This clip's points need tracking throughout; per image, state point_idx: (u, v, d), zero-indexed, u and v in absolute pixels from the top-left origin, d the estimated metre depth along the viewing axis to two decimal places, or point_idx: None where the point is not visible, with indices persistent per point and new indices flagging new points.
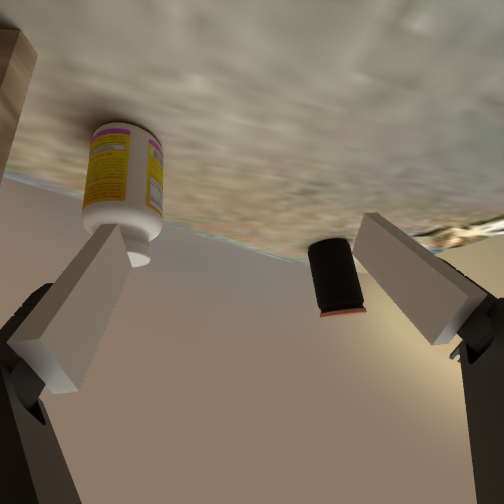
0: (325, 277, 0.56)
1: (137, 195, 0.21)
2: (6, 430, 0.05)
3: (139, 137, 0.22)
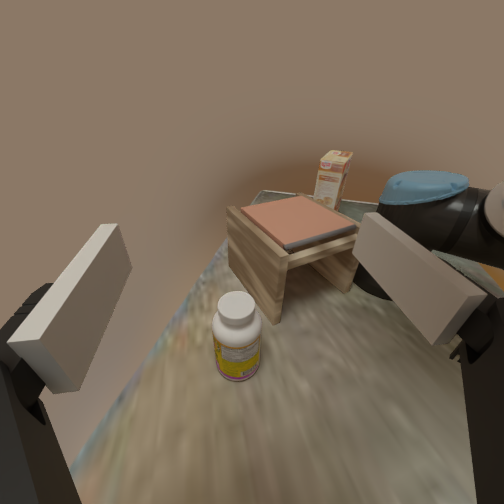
0: None
1: None
2: (6, 430, 0.05)
3: (259, 358, 0.36)
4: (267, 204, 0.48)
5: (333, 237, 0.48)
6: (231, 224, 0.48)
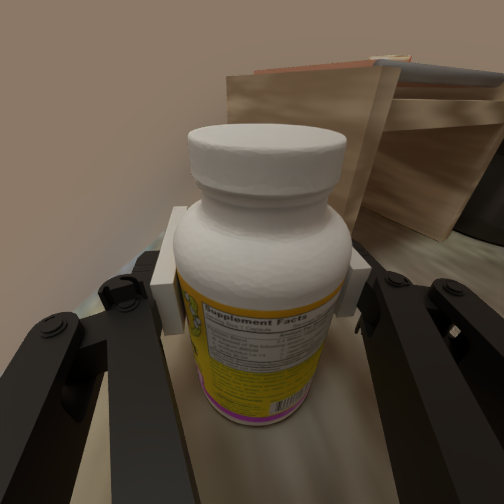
0: None
1: None
2: (153, 355, 0.06)
3: None
4: None
5: (425, 134, 0.26)
6: (235, 108, 0.26)
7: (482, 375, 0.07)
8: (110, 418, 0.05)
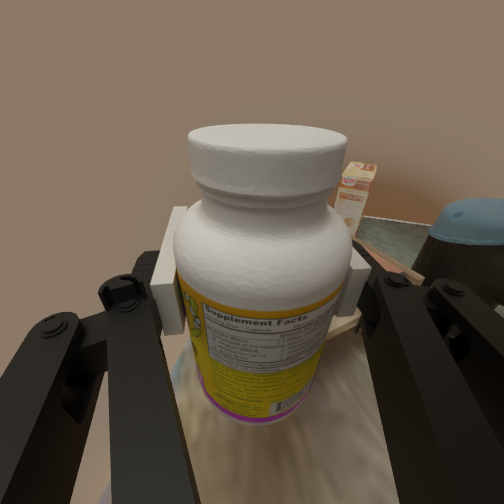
0: None
1: None
2: (154, 355, 0.06)
3: None
4: None
5: None
6: None
7: (482, 375, 0.07)
8: (110, 418, 0.05)
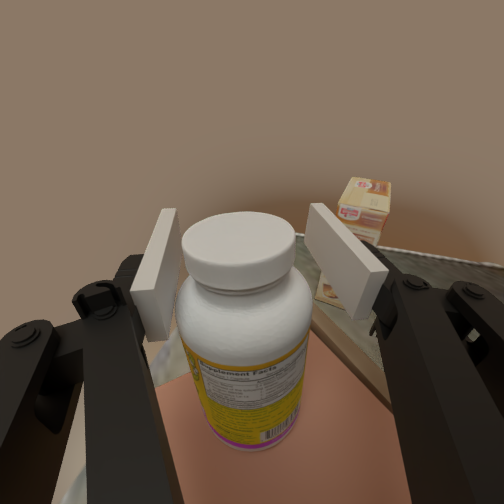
0: None
1: None
2: (133, 363, 0.06)
3: None
4: None
5: None
6: None
7: (500, 379, 0.07)
8: (86, 432, 0.05)
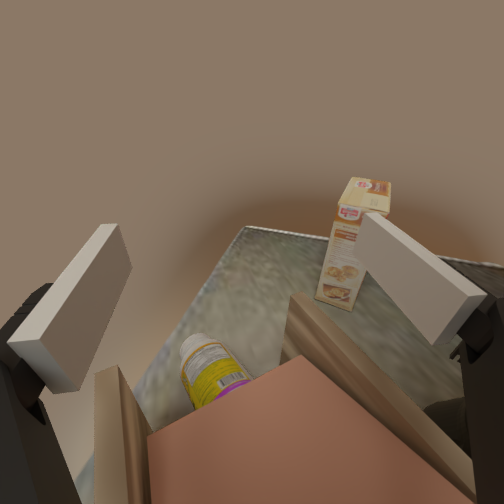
0: None
1: (227, 348, 0.30)
2: (6, 430, 0.05)
3: None
4: (218, 410, 0.20)
5: None
6: None
7: None
8: None
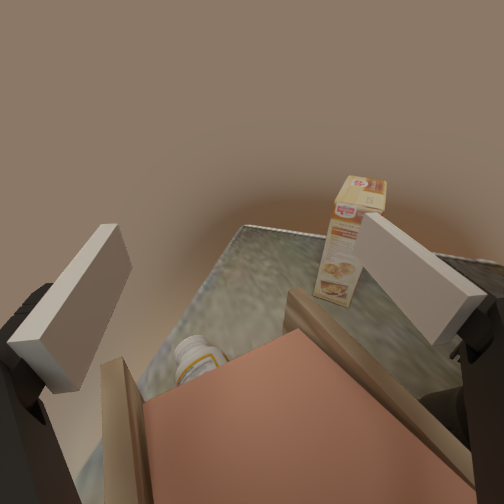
0: None
1: (219, 357, 0.29)
2: (6, 430, 0.05)
3: None
4: (215, 380, 0.20)
5: None
6: None
7: None
8: None
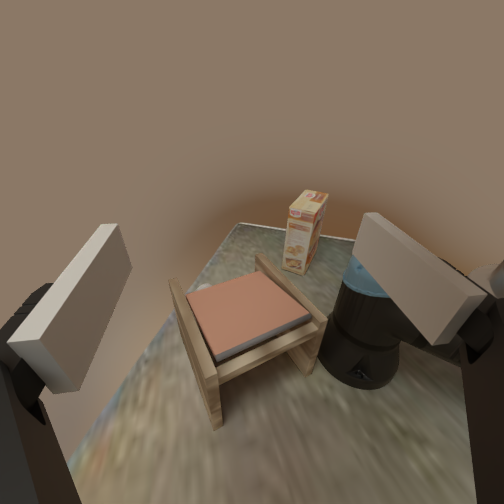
0: None
1: None
2: (6, 430, 0.05)
3: None
4: (217, 287, 0.43)
5: None
6: (174, 300, 0.42)
7: None
8: None
